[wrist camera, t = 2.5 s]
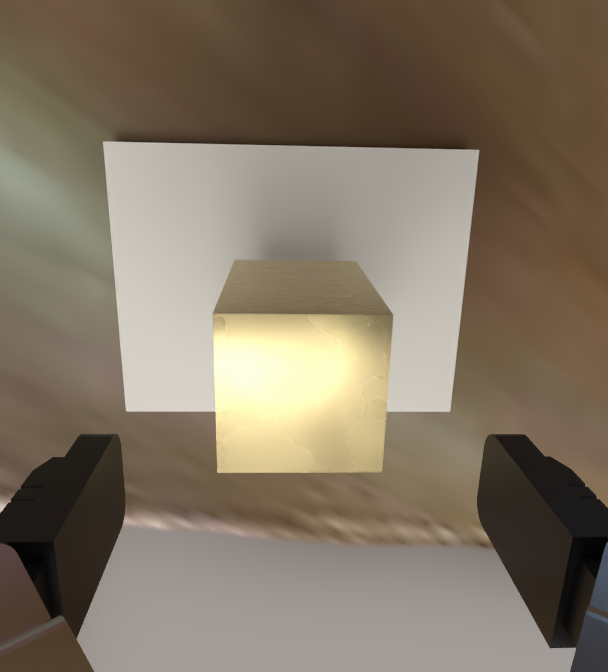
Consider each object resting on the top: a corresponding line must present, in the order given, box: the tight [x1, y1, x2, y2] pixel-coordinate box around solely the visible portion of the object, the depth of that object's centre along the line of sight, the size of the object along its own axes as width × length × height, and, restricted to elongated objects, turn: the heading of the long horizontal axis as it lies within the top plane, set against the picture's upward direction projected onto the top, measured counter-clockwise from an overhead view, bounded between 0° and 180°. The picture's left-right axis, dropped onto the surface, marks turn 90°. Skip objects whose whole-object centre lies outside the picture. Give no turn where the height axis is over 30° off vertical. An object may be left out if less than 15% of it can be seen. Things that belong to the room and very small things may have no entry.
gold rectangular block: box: [213, 260, 393, 473], centre depth 20 cm, size 5×5×8 cm
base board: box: [103, 142, 479, 412], centre depth 30 cm, size 18×14×2 cm
